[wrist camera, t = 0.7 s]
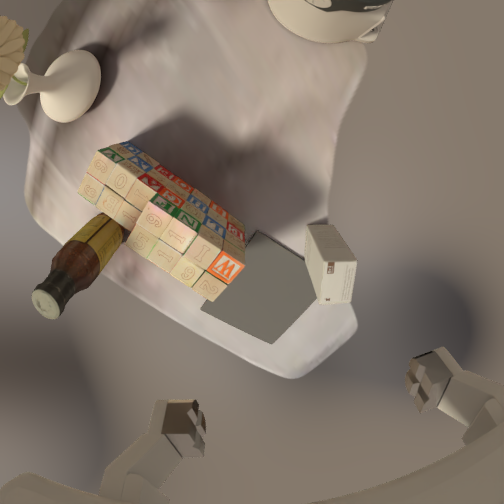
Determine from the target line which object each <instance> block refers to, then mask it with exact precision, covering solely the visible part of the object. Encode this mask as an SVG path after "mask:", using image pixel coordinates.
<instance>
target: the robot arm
mask: <svg viewBox="0 0 504 504" xmlns="http://www.w3.org/2000/svg"><path fill="white" fill-rule="evenodd" d="M392 2H393V0H268V3H269V6H270V9H271V11H272V13H273V14H274V16H275V17H276V18H277V20H278V21H279V22H280V23H281V24H282V25H283V26H285V27H286V28H287V29H288V30H290V31H291V32H293V33H295V34H297V35H298V36H301V37H303V38H305V39H308V40H311V41H315V42H321V43H340V42H345V41H353V40H354V41H358V42H363V43H372V42H374V41H375V40H376V38H377V36H378V34H379V32H380V29H381V28H382V25H383V23H384V21H385V18H386V16H387V14H388V12H389V9H390V7H391V5H392ZM370 30H373V32H372V31H370ZM409 366H410V369H409V370H408V372H407V373H406V376H405V385H406V388H407V390H408V392H409V394H410V395H412V396H414V397H415V398H414V403H415V405H416V407H417V409H418V411H419V412H420V413H423V412H426V411H428V410H431V409H433V408H435V407H438V408H439V409H440V410H442V411H443V412H445V413H446V414H448V415H450V416H451V417H453V418H455V419H456V420H458V421H459V422H461V423H463V424H464V425H466V426H467V427H469V428H468V429H467V431H466V432H465V433H464V435H463V437H462V440H463V442H464V443H465V445H466V446H464V447H463V448H462V449H459V450H457V451H456V452H454V453H452V454H450V455H448V456H446V457H444V458H442V459H440V460H438V461H436V462H434V463H433V464H430V465H428V466H426V467H424V468H422V469H419V470H417V471H414V472H412V473H410V474H408V475H405V476H402V477H400V478H397V479H395V480H392V481H389V482H386V483H384V484H381V485H378V486H375V487H372V488H369V489H365V490H362V491H358V492H355V493H352V494H348V495H344V496H340V497H336V498H332V499H327V500H322V501H318V502H312V503H307V504H504V385H502V384H499V383H497V382H494V381H492V380H489V379H487V378H484V377H482V376H479V375H476V374H474V373H472V372H469V371H467V370H466V371H463V370H462V369H461V367H460V366H459V365H458V363H457V362H456V361H455V360H454V358H453V357H452V356H451V355H450V353H449V352H448V351H447V350H446V348H444V347H441V348H438V349H435V350H433V351H430V352H427V353H424V354H422V355H419V356H416V357H413V358H412V359H411V360H410V362H409ZM198 409H199V404H198V402H197V400H157V401H156V402H155V404H154V408H153V412H152V416H151V420H150V424H149V428H148V432H147V434H145V433H144V434H143V435H141V436H140V437H139V438H138V439H137V440H136V441H135V442H134V443H133V444H132V445H131V446H130V447H129V448H127V449H126V450H125V451H124V452H123V453H122V454H121V455H120V456H119V457H117V458H116V459H115V460H114V461H113V462H112V463H111V464H110V465H109V466H107V467H106V468H105V472H104V475H103V479H102V483H101V487H100V490H99V494H98V496H97V495H94V494H91V493H87V492H84V491H80V490H77V489H74V488H71V487H68V486H65V485H62V484H59V483H57V482H54V481H51V480H49V479H46V478H44V477H41V476H39V475H37V474H34V473H31V472H25V473H23V474H20V475H19V476H17V477H15V478H14V479H12V480H11V481H9V482H8V483H6V484H5V485H3V487H1V489H0V504H169V501H170V500H169V498H168V497H167V496H165V495H164V494H163V493H161V492H160V491H159V488H160V487H161V486H162V485H163V483H164V481H166V479H167V478H168V477H169V475H170V474H171V473H172V472H173V471H174V469H175V468H176V467H177V465H178V464H179V463H180V461H181V460H182V459H183V458H182V457H204V449H205V442H204V441H203V439H202V437H203V436H204V435H205V434H206V422H205V417H204V414H203V412H202V411H200V410H198Z"/></svg>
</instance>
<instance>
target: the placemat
mask: <svg viewBox="0 0 504 504" xmlns="http://www.w3.org/2000/svg"><path fill="white" fill-rule="evenodd" d="M316 298H317V296H316V293H315V290H314V286H313V283H312V280H311V278H310V275H309V272H308V269H307V266H306V263H305V260H303V259H302V258H300V257H298V256H297V255H295V254H294V253H292V252H291V251H289V250H287V249H286V248H284V247H283V246H281V245H280V244H278V243H276V242H275V241H273V240H272V239H270V238H268V237H267V236H265V235H264V234H262V233H260V232H259V231H257V232H256V233H255V235H254V236H253V237H252V239H251V240H250V241H249V243H248V244H247V245H246V247H245V267H244V268H243V269H242V270H241V272H240V273H239V274H238V275H237V276H236V277H235V278H234V279H233V280H232V282H231V283H229V284H228V286H227V287H226V288H225V289H224V290H223V292H222V293H221V294H220V295H219V296H218V297H217V298H216V299H215V300H214V301H213V302H212V301H210V300H208V299H207V300H206V301H205V303H204V304H203V306H202V307H201V309H200V310H202V311H204V312H206V313H208V314H210V315H212V316H214V317H216V318H218V319H220V320H222V321H224V322H226V323H228V324H230V325H232V326H234V327H236V328H238V329H240V330H242V331H244V332H246V333H248V334H250V335H252V336H254V337H257V338H259V339H261V340H263V341H265V342H267V343H269V344H273V343H274V342H275V341H276V340H277V339H278V338H279V337H280V336H281V335H282V334H283V333H284V332H285V331H286V330H287V329H288V328H289V327H290V326H291V325H292V324H293V323H294V322H295V321H296V320H297V319H298V318H299V316H300V315H301V314H302V313H303V312H304V311H305V310H306V309H307V308H308V307H309V306H310V305H311V304H312V303H313V302H314V301H315V300H316Z"/></svg>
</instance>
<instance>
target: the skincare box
mask: <svg viewBox="0 0 504 504" xmlns="http://www.w3.org/2000/svg"><path fill="white" fill-rule="evenodd" d="M305 263H306V266H307V269H308V272H309V275H310V278H311V280H312V283H313V286H314V290H315V293H316V296H317V299H318V302H319V304H320V305H326V304H338V303H347V302H351V298H352V292H353V286H354V280H355V273H356V266H357V259H356V258H355V256H354V254H353V253H352V252H351V250H350V249H349V247H348V245H347V244H346V243H345V241H344V240H343V238H342V237H341V236H340V234H339V233H338V231H337V230H336V228H335V227H334V226H333V225H307V228H306V245H305Z"/></svg>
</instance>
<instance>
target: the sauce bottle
mask: <svg viewBox="0 0 504 504" xmlns="http://www.w3.org/2000/svg"><path fill="white" fill-rule="evenodd" d="M123 237H124V227H123V226H122V225H120V224H119V223H117V222H116V221H115V220H114V219H112V218H111V217H109V216H108V215H106V214H105V213H101V214H98V215H97V216H96V217H94V218H92V219H91V220H90V221H89V222H88V223H87V224H86V225H85V226H84V227H82V228H81V229H80V230H79V231H78V232H77V233H76V234H75V235H74V236H73V237H72V238H71V239H70V240H69V241H68V242H66V243H65V245H64V246H63V248H62V249H61V250H60V251H59V252H58V253H57V254H56V256H55V257H54V258H53V259H52V265H51V271H50V274H49V275H48V277H47V278H46V279H45V281H44V282H43V283H41V284H38V285H37V286H36V288H35V289H34V291H33V292H32V301H33V303H34V305H35V307H36V309H37V310H38V311H39V312H40V313H41V314H42V315H43V316H44V317H46V318H49V319H57V318H58V317H59V316H60V315H61V313H62V312H63V311H64V308H65V305H66V303H67V302H68V301H69V299H70V298H71V297H72V296H73V295H74V294H76V293H77V292H79V291H81V290H84V289H87V288H88V287H89V286H90V285H91V284H92V282H93V281H94V280H95V279H96V278H97V276H98V275H99V274H100V272H101V271H102V270H103V268H104V267H105V265H106V264H107V263H108V261H109V260H110V259H111V257H112V256H113V254H114V253H115V252H116V250H117V249H118V248H119V246H120V244H121V242H122V240H123Z"/></svg>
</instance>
